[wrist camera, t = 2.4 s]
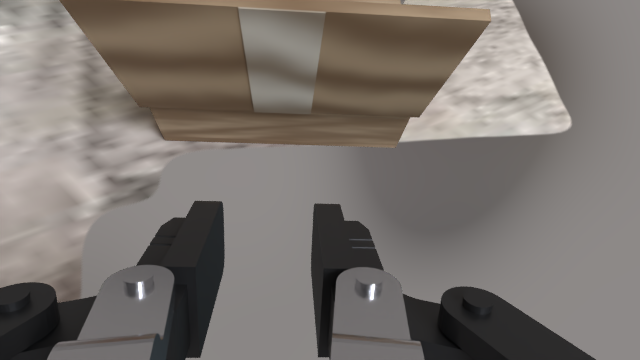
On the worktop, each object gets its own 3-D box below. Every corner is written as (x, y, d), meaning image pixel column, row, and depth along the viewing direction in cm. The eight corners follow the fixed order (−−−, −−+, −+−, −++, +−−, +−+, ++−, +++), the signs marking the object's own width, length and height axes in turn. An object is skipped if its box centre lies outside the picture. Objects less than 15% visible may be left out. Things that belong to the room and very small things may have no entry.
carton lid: (418, 109, 40) (419, 118, 40) (140, 98, 38) (139, 107, 38) (489, 9, 26) (491, 22, 26) (59, -16, 24) (56, -2, 24)
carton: (395, 147, 47) (413, 110, 40) (164, 140, 45) (145, 99, 38) (385, 45, 52) (400, -1, 46) (182, 35, 51) (168, -15, 44)
